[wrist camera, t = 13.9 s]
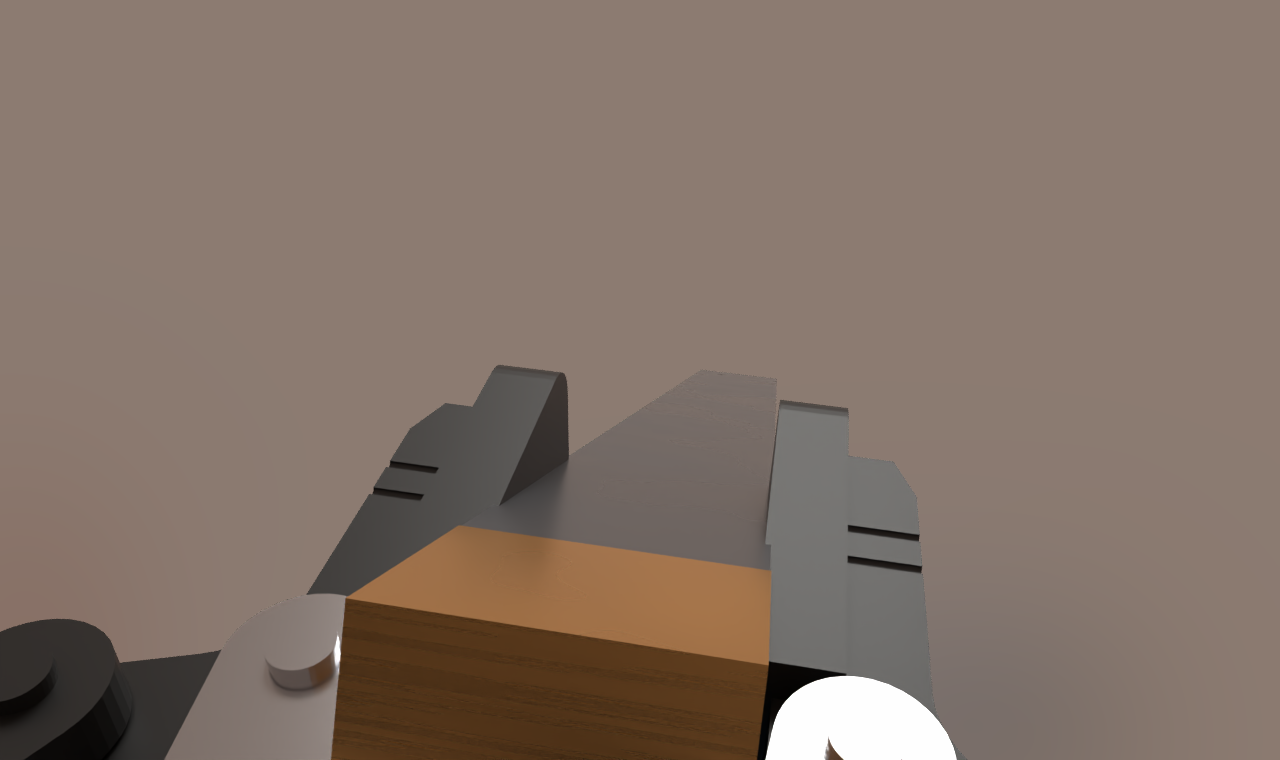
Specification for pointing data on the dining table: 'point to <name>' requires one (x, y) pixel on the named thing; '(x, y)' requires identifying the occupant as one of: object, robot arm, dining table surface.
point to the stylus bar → (585, 604)
